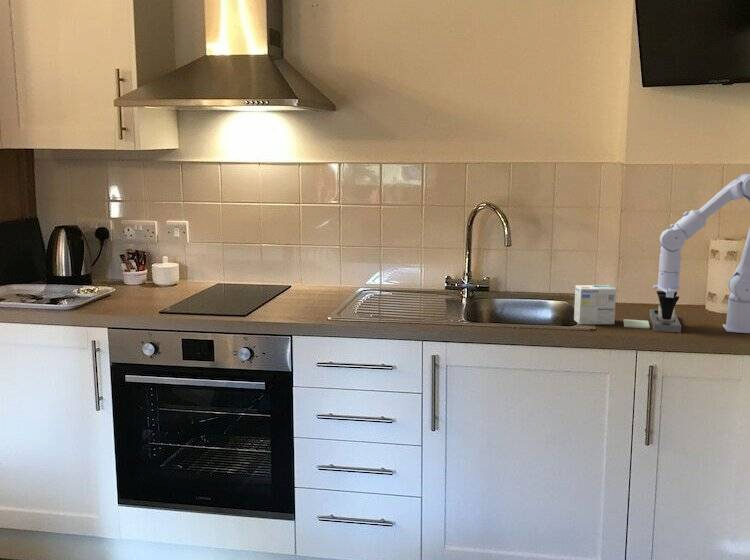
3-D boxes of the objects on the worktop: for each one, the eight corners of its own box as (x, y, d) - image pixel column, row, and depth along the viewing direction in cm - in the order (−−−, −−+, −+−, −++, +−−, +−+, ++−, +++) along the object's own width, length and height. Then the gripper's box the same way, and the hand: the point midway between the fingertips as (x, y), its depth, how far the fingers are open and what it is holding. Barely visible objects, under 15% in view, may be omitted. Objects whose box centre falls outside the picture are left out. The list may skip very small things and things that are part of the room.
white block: (671, 325, 233) (673, 304, 232) (673, 328, 229) (674, 307, 228) (657, 324, 234) (658, 303, 233) (658, 327, 230) (659, 306, 229)
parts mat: (648, 322, 236) (648, 320, 236) (649, 328, 229) (649, 326, 228) (623, 320, 238) (623, 319, 238) (624, 326, 230) (624, 325, 230)
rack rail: (673, 316, 244) (674, 310, 243) (680, 332, 224) (681, 325, 223) (649, 315, 245) (649, 308, 245) (654, 331, 225) (654, 324, 225)
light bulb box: (607, 319, 240) (610, 284, 238) (615, 324, 233) (617, 288, 231) (572, 319, 239) (574, 284, 238) (579, 324, 233) (580, 288, 231)
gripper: (652, 266, 236) (649, 311, 239) (656, 274, 222) (653, 322, 225) (678, 267, 234) (674, 312, 237) (683, 275, 221) (679, 323, 223)
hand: (665, 317), depth 231 cm, fingers closed on white block, 4 cm apart
